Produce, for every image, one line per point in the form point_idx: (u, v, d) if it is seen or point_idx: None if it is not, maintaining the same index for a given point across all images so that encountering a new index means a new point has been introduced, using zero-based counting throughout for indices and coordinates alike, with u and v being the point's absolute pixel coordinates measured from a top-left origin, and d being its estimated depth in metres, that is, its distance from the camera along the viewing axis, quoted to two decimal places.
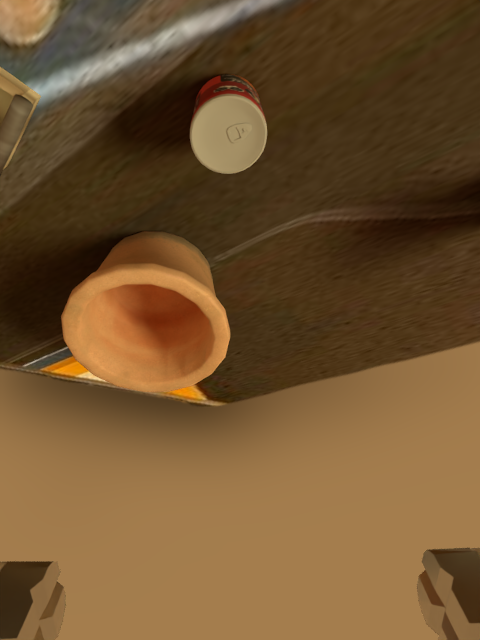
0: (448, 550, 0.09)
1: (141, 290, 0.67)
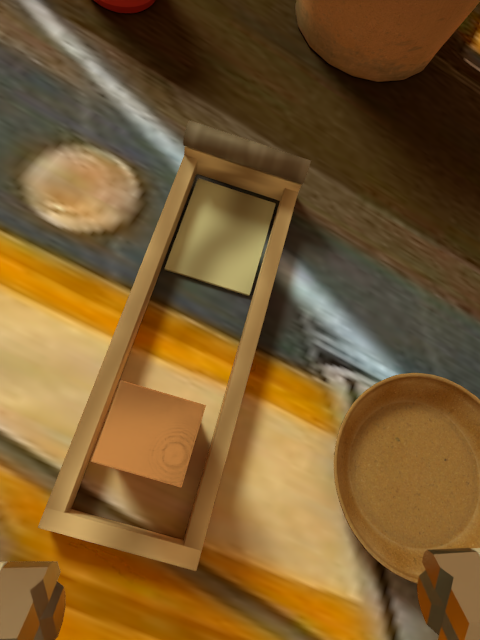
0: (448, 550, 0.09)
1: None
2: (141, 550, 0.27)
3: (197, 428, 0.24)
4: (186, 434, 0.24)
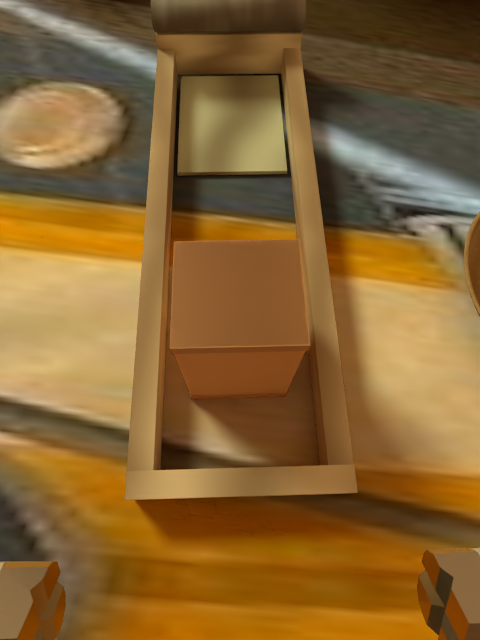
0: (448, 550, 0.09)
1: None
2: (274, 487, 0.19)
3: (300, 268, 0.17)
4: (288, 279, 0.16)
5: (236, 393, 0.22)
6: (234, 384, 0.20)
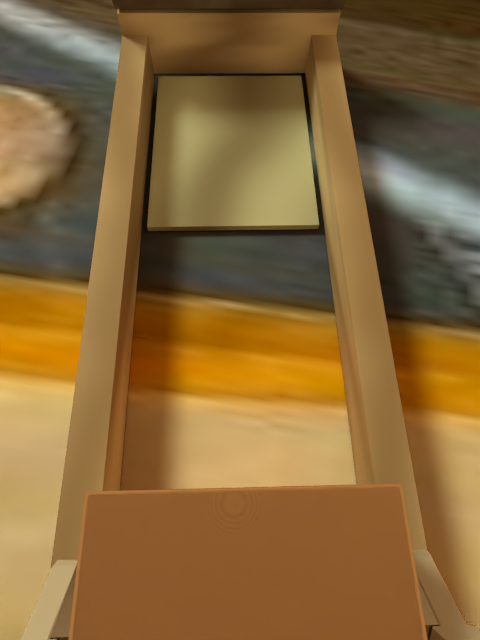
0: None
1: None
2: None
3: (413, 582, 0.06)
4: (385, 622, 0.06)
5: None
6: None
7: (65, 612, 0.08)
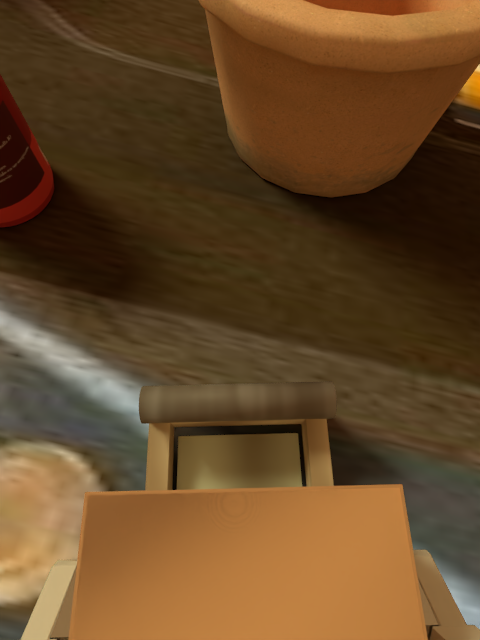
0: None
1: None
2: None
3: (413, 583, 0.06)
4: (385, 623, 0.06)
5: None
6: None
7: (65, 612, 0.08)
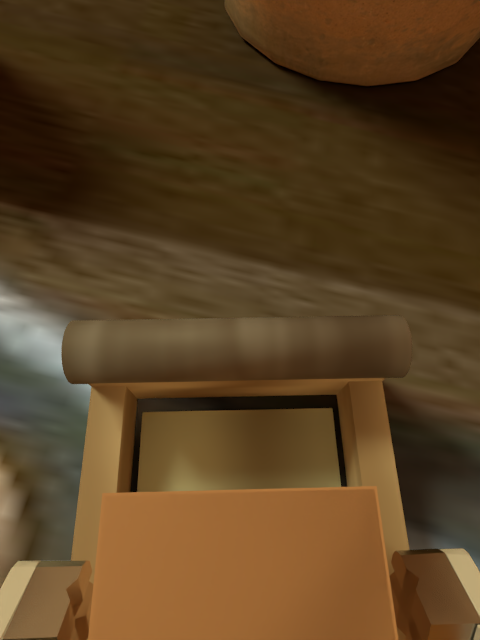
0: (416, 551, 0.09)
1: None
2: None
3: (384, 571, 0.07)
4: (359, 604, 0.07)
5: None
6: None
7: (20, 613, 0.08)
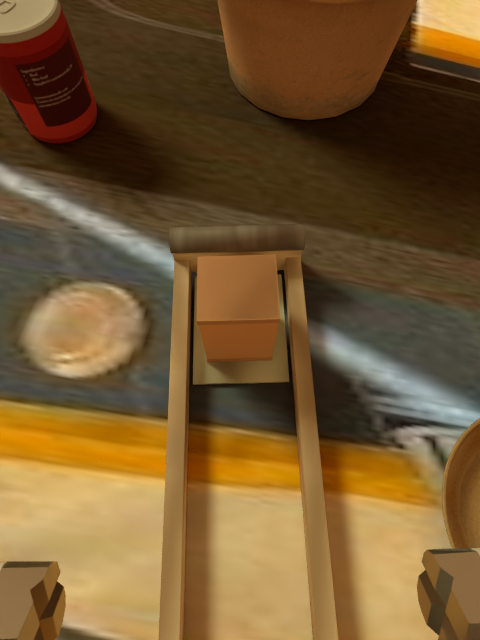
0: (448, 550, 0.09)
1: None
2: None
3: (275, 273, 0.27)
4: (268, 279, 0.27)
5: (237, 357, 0.32)
6: (236, 349, 0.31)
7: None
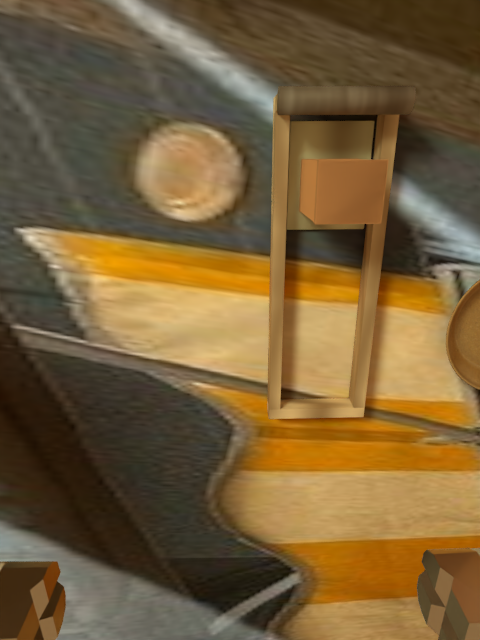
0: (448, 550, 0.09)
1: None
2: (329, 415, 0.46)
3: (385, 179, 0.31)
4: (377, 186, 0.31)
5: None
6: None
7: None
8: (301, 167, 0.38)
